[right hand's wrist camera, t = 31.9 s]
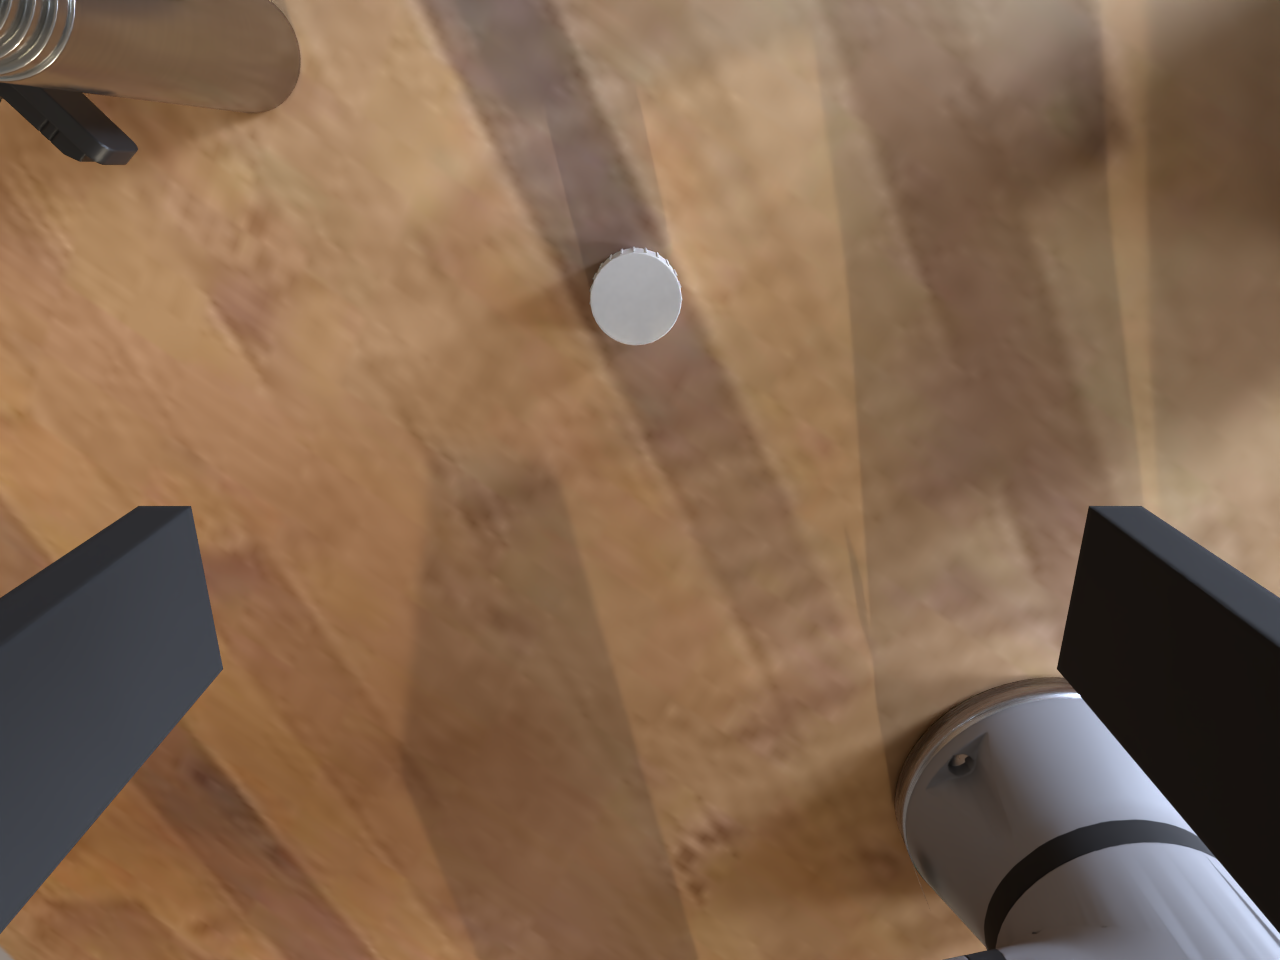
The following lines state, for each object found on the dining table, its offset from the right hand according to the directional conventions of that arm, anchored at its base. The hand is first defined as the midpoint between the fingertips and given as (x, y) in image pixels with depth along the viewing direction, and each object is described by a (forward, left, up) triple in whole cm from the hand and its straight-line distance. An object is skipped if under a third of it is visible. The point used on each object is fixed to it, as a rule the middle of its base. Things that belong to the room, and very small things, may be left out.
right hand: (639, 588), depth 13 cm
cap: (0, 0, -26) cm, 26 cm away
